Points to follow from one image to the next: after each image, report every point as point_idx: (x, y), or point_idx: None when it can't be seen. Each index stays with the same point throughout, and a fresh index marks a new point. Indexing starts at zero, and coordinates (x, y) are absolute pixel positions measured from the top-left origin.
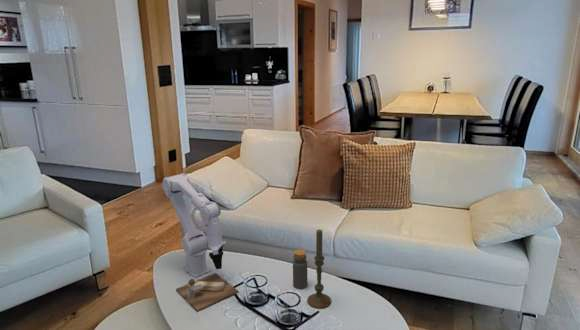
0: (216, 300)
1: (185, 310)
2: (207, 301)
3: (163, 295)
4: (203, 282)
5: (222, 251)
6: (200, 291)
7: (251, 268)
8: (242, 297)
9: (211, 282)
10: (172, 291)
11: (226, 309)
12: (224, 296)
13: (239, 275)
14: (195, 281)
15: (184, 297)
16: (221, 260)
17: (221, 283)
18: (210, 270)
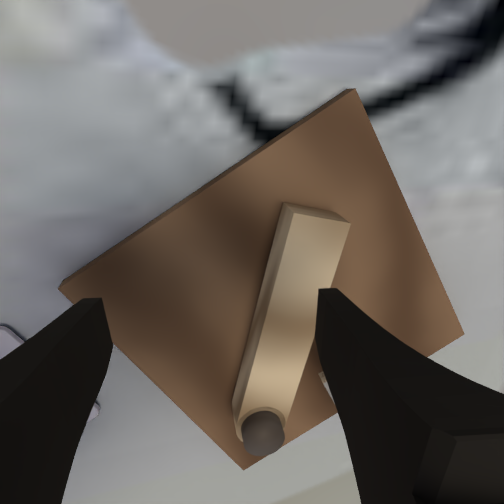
0: (419, 243)
1: None
2: (411, 294)
3: (270, 495)
4: (266, 361)
5: (458, 453)
6: None
7: None
8: (406, 59)
9: (278, 309)
10: (242, 471)
11: (492, 174)
12: (394, 196)
13: (70, 73)
14: (244, 410)
15: (334, 412)
16: (408, 347)
17: (308, 235)
18: (2, 328)
